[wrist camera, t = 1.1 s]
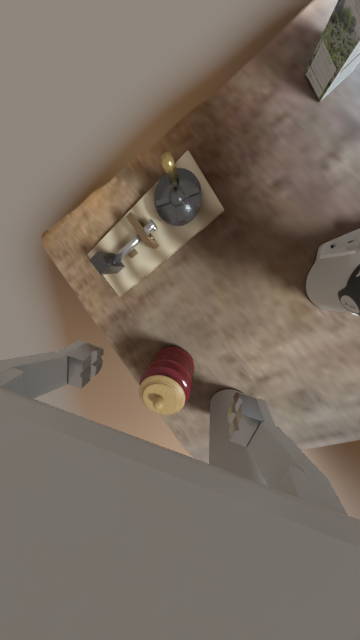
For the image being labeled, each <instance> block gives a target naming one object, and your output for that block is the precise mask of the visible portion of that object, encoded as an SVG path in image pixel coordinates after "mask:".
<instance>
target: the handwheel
mask: <svg viewBox="0 0 360 640" xmlns="http://www.w3.org/2000/svg"><path fill="white" fill-rule="evenodd" d="M161 165H162V167H163V169H164V171H165V174H164V175H163V176H162V177H161V178H160V180H159V181H158V183H157V185H156V188H155V193H154V204H155V208H156V211H157V213H158V214H159V216H160V217H161V218H162V219H163V220H164V221H165V222H166V223H168V224H169V225H172V226H183V225H186V224H188V223H189V222H191V221H192V220H193V219H194V218H195V217H196V215H197V214H198V212H199V210H200V207H201V203H202V190H201V185H200V183H199V181H198V179H197V177H196V176H195V175H194V174H193V173H192V172H191V171H189V170H187V169H184V168H176V165H175V162H174V159H173V156H172V154H171V153H169V152H165V153H163V155H162V156H161Z"/></svg>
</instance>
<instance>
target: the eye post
mask: <svg viewBox="0 0 360 640" xmlns="http://www.w3.org/2000/svg"><path fill="white" fill-rule="evenodd" d="M126 218H127V219H128V220H129V222H130V223H131V225H132V226H133V228H134V229H135V230H136V232H137V233H138V235H139V236H140V237H141V239H142V240H143V242H144V243H145V245H146V246H147V247H150V248H153V249H156V248H158V247H159V246H160V245H159V244H158V243H157V241H156V240H155V238H154V237H153V235H152V234H151V233H150V234H149V235H147V233H146V232H145V230H144V229H143V228H144V227H145V226H146V225H145V224H144V222H143V221H142V219H140V218H139V217H137V216H136V215H134V214H133V213H131V212H130V213H129V214H128V215H127V216H126Z"/></svg>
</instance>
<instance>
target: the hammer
mask: <svg viewBox="0 0 360 640" xmlns="http://www.w3.org/2000/svg"><path fill="white" fill-rule="evenodd" d="M147 223H148V224H147V225H146V226H145V227H144V228H143V229H144V230H145V232H146V233H147V235H149V234H150V233H151V232H152V231H154V232H155V231H157V226H156V224H155V223H154V222H153V220H152V219H149V220H148V221H147ZM141 241H143V240H142V239H141V237H140V236H139V235H138V233H137V234H136V235H135V236H134V237H133V238H132V239H131V240H130V241H129V242H128V243H127V244H126V245H125V246H124V247H123V248H122V249H121V250H120V251H119V252H118V253H116V254H114V253H107V252H100V251H98V252H97V253H96V254H95V255H94V256H93V257H92V258H91V259H90V261H91V262H92V264H93V265H94V266H95V268H96V269H97V270H98V272H99V273H100V274H101V275H102V274H117V273H118V272H120V271H121V270H122V269H123V268H124V267H125V266H124V265H123V263H122V262H121V260H122V259H123V258H124V257H125V256H126V255H127V254H128V253H130V252H131V251H132V250H133V249H134V248H135V247H136V246H137V245H138V244H139V243H140V242H141Z"/></svg>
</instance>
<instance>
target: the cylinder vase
mask: <svg viewBox="0 0 360 640" xmlns="http://www.w3.org/2000/svg"><path fill="white" fill-rule="evenodd" d="M236 392H238V393H241V392H239V391H237V390H232V389H225V390H221V391H219V392H217V393H216V394H215V395H214V396H213V397H212V399H211V401H210V442H209V464H210V465H213V466H216V467H218V468H221V469H224V470H227V471H229V472H232V473H235V474H237V475H240V476H243V477H245V478H248V479H251V480H254V481H256V482H259V483H262V484H264V485H267V483H266V481H265V479H264V478H263V476H262V474H261V472H260V471H259V469H258V467H257V466H256V464H255V462H254V460H253V459H252V457H251V455H250V453H249V452H248V450H247V447H245V446H242V445H239V444H237V443H234V442H232V441H230V436H229V427H230V423H229V422H228V409H229V406H230V404H231V403H232V402H234V398H233V397H234V395H235V393H236ZM241 394H243V393H241ZM267 486H268V485H267Z"/></svg>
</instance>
